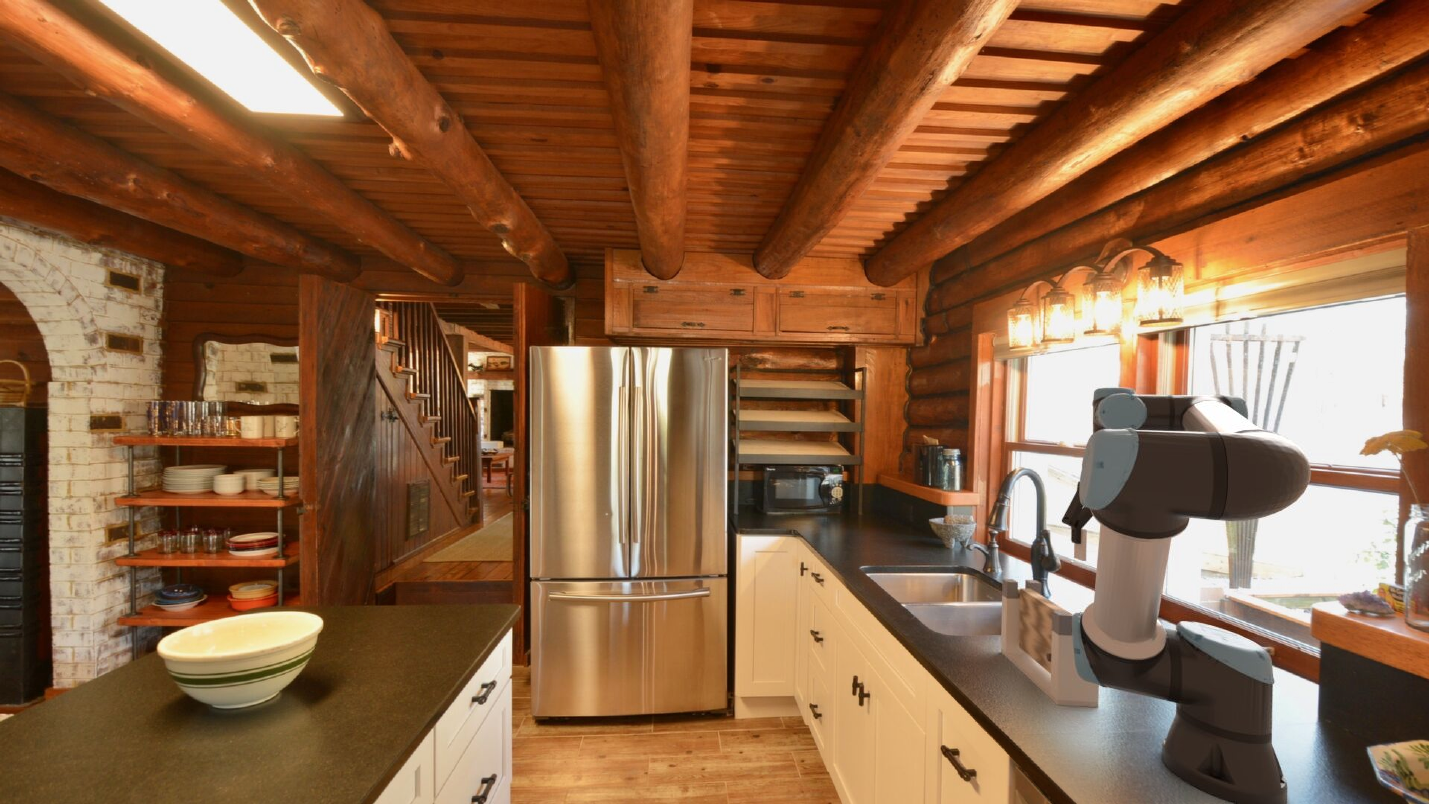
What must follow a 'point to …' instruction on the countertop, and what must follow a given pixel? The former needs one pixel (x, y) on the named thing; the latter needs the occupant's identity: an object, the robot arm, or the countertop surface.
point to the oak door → (1036, 626)
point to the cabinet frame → (1064, 677)
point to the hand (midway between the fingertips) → (1111, 560)
